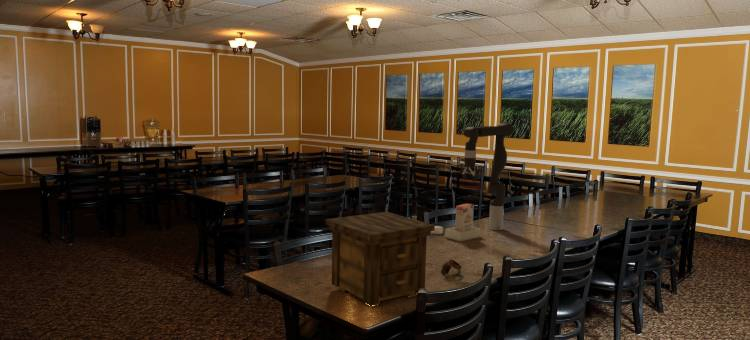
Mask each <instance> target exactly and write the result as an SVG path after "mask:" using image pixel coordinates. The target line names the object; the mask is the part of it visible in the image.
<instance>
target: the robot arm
mask: <svg viewBox="0 0 750 340" xmlns="http://www.w3.org/2000/svg"><path fill="white" fill-rule="evenodd" d="M514 130H515V129H514V126H513V124H511V123H509V122H500V123H498V124H497V125H495V126H493V125H492V126H491V125H484V126H468V127H465V128H464V129H463V135H464V137H465V138H468V140H467V141H466V142H465V147H464V149H465V150H464V158H463V159H464V161H463V162H464V164H460V174H461V175H462V180H463V181H467V180H466V179H467V173H471V174H472V182H473V183H474V182H476V181H477V176H479V175H480V166H478V165H477V166H476V162H477V161H476V159H477V150H476V149H477V142H478V139H479V138H482V137H483V138H484V137H492V136H495V141H494V142H495V145H494V150H493V151H494V152H493V158H492V168H491V174H490V178H489V183H488V187H487V189H488V193H489V194H490V195H492V196H495V198H494V199H491V200H490V203H489V217H488V219H489V220H488V229H489V230H491V231H502V230H503V229H504V204H505V200H506V192H507V189H506V185H505V184H504V183H502V182H499V178H500V175H501V173H502V172H503V170H504V169H505V168H506V165H507V160H508V151H507V150H506V146H505V137H510V136H512V135H513V134H514V132H515V131H514Z"/></svg>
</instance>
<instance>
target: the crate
mask: <svg viewBox="0 0 750 340" xmlns="http://www.w3.org/2000/svg"><path fill="white" fill-rule="evenodd" d="M324 223H325V224H324V225H326V226H328V230H329V231H332V233H331V235H332V237H331V238H332V239H331V240H332V242H331V285H332V286H334V287H336V288H338V290H339V289H340V290H342V291H344V292H345V291H348V292H349V293H350V294H352V295H354V296H355V297H357V298H359V299H361V300H362V301H363V302H364V304H365V303H367V304H369V305H370V306H372V305H377V304H380V305H381V302H383V301H386V300H391V299H394V298H395V299H396V298H398V297H399V298H400V297H402V296H405V295H407V296H409V297H410V296H414V295H416V293H417V289H419V288H424V289H425V290H426V270H427V269H426V268H427V267H426V265H427V243H428V242H427V241H428V240H427V237H429V236H431V235H432V233H431V231H434V228H435V226H436V225H435V224H432V223H431V224H430V223H427V222H423V221H420V220H416V219H414V218H410V217H407V216H402V215H400V214H396V213H393V212H388V211H383V212H374V213H373V212H372V213H367V214H365V213H364V214H358V215H349V216H340V217H332V218H325V222H324ZM340 290H339V291H340ZM342 291H341V292H342ZM344 292H343V293H344ZM348 292H347V293H348ZM345 293H346V292H345ZM417 294H418V293H417ZM407 296H406V297H407ZM409 297H408V298H409ZM414 297H415V296H414ZM410 298H411V297H410Z"/></svg>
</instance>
